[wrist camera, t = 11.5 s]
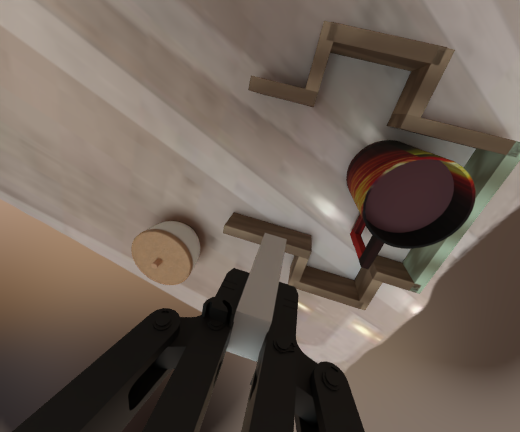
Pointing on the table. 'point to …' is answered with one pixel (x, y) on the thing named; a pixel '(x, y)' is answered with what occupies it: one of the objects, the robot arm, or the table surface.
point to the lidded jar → (167, 252)
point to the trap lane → (403, 117)
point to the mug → (406, 197)
